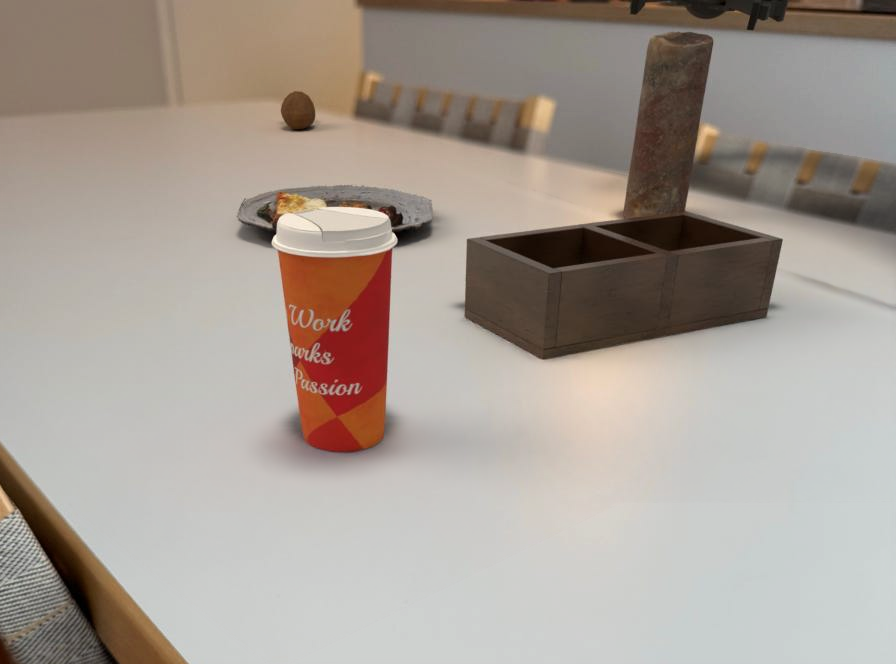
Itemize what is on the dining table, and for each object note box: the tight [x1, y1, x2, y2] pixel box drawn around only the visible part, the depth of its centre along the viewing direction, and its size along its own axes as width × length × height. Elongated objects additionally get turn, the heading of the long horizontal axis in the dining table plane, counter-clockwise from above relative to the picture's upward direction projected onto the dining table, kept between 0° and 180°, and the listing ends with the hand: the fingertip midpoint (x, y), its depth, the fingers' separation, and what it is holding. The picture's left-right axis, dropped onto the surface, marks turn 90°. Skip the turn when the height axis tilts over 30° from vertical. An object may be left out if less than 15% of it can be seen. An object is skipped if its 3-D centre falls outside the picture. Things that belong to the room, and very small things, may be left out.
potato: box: [280, 90, 316, 130], centre depth 183 cm, size 7×10×6 cm
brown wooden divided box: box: [464, 210, 784, 360], centre depth 86 cm, size 25×13×7 cm, turn 118°
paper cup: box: [271, 207, 398, 453], centre depth 62 cm, size 8×8×14 cm
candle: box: [622, 31, 715, 219], centre depth 112 cm, size 8×7×20 cm
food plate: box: [236, 184, 434, 233], centre depth 116 cm, size 25×23×4 cm
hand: (693, 8), depth 111 cm, fingers open, 13 cm apart
